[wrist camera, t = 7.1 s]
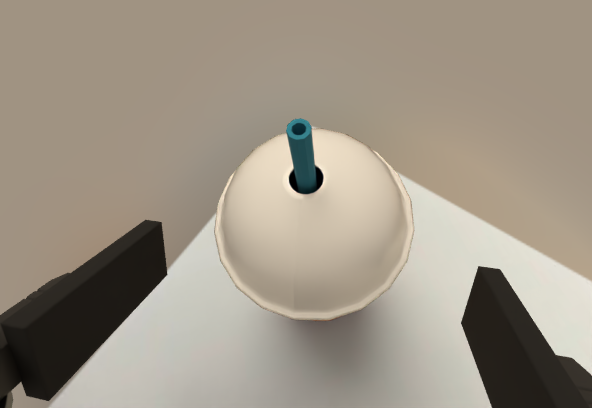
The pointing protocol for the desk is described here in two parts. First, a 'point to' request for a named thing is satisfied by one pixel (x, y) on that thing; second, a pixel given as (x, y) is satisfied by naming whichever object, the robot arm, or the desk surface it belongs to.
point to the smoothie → (314, 224)
